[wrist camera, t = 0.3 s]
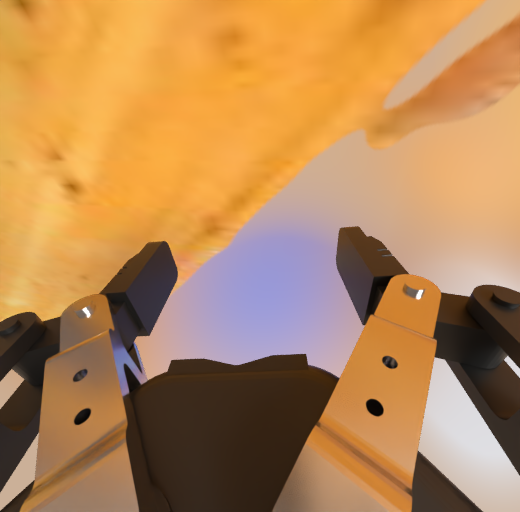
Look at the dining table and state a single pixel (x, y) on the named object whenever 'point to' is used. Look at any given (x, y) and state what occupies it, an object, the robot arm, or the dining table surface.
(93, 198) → the dining table surface
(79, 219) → the dining table surface
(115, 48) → the dining table surface
